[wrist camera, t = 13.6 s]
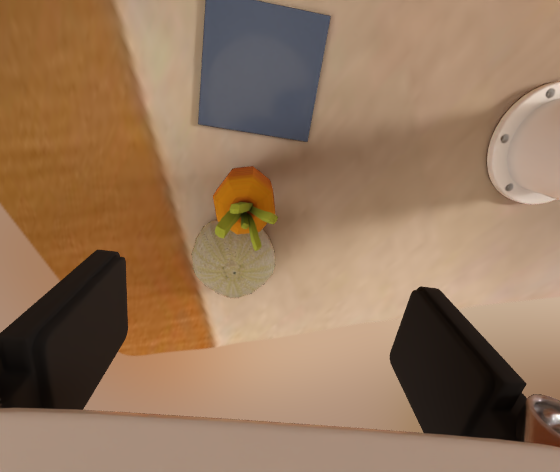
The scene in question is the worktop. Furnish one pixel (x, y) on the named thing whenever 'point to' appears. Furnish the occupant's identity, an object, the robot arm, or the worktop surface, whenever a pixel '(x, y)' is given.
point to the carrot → (244, 204)
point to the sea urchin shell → (232, 261)
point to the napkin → (261, 67)
